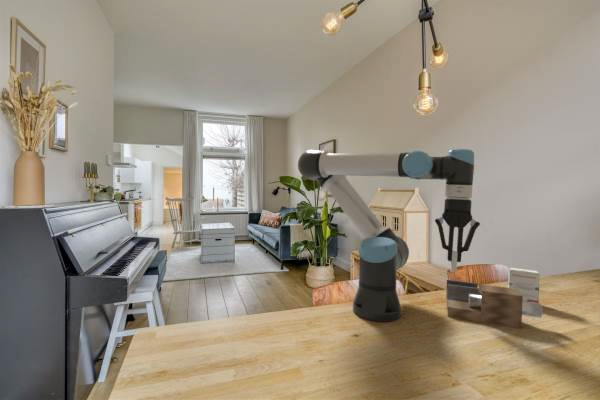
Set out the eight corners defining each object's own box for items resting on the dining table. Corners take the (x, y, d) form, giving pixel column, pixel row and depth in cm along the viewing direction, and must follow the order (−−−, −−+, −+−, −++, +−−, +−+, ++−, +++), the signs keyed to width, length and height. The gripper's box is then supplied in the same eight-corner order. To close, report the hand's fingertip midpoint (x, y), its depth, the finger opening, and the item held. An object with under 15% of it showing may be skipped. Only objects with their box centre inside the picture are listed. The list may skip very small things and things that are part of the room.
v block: (447, 301, 105) (447, 284, 105) (446, 295, 111) (446, 279, 111) (479, 306, 101) (480, 289, 101) (476, 299, 107) (477, 283, 107)
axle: (469, 308, 91) (470, 296, 91) (468, 303, 95) (468, 291, 94) (541, 320, 84) (542, 306, 84) (537, 313, 88) (538, 300, 87)
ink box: (536, 303, 104) (538, 270, 104) (538, 308, 100) (540, 273, 100) (507, 298, 109) (508, 266, 109) (507, 302, 105) (509, 269, 104)
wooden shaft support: (447, 316, 92) (448, 286, 92) (446, 308, 99) (447, 280, 98) (521, 328, 85) (522, 296, 84) (514, 319, 91) (516, 288, 91)
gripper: (435, 197, 93) (431, 271, 94) (483, 200, 87) (478, 277, 89) (435, 197, 100) (431, 265, 101) (479, 199, 94) (474, 271, 95)
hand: (453, 271), depth 95 cm, fingers closed
